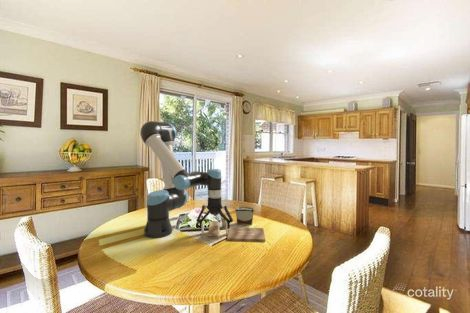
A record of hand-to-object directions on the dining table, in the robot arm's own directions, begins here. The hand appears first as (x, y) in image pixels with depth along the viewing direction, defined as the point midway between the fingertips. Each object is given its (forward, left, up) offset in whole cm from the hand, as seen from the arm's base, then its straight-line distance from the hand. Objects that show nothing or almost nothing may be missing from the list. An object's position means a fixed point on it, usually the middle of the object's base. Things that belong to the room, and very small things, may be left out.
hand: (214, 234), depth 134 cm
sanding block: (0, 0, 0) cm, 0 cm away
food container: (+17, +20, 0) cm, 26 cm away
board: (+18, 0, 0) cm, 18 cm away
